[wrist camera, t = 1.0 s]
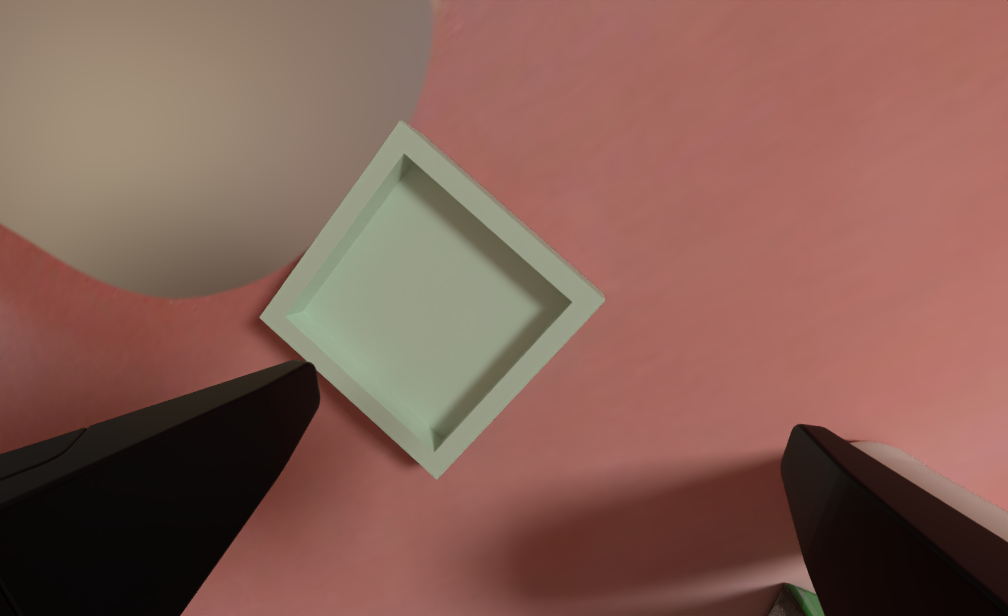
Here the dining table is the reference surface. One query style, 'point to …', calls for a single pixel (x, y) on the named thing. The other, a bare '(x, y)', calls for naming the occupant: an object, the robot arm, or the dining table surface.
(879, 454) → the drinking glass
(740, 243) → the dining table surface
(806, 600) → the chalk box
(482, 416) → the tray
